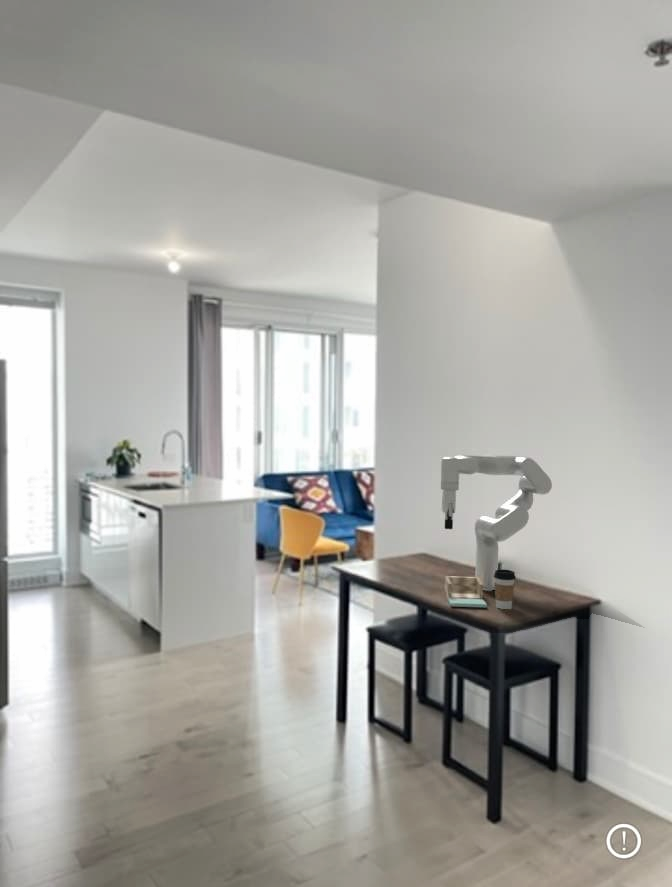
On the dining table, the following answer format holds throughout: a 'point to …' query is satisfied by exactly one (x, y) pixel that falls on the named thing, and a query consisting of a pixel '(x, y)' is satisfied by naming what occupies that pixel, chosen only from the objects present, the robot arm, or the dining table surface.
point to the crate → (463, 587)
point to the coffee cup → (504, 588)
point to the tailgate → (467, 602)
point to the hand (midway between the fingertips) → (448, 528)
